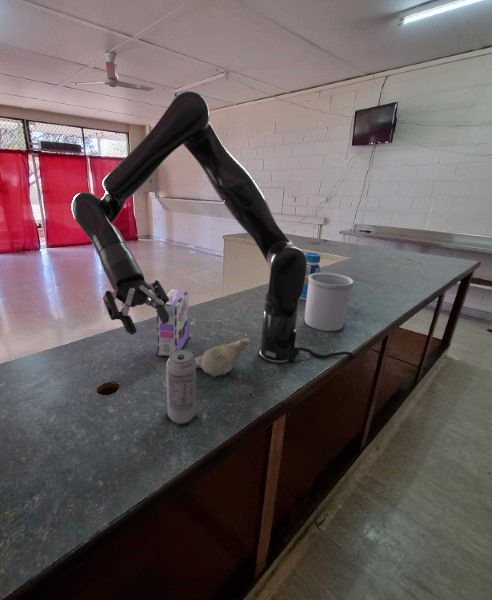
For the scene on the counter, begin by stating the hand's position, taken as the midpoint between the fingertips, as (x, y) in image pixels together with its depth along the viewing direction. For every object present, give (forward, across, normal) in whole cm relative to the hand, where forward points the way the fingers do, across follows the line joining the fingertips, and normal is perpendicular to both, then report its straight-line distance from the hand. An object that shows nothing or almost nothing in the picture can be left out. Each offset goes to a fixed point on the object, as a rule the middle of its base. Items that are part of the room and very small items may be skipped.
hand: (150, 327), depth 70 cm
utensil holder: (+18, +70, +7) cm, 73 cm away
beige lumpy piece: (+15, +21, +10) cm, 27 cm away
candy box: (+2, +18, +23) cm, 29 cm away
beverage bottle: (+5, +91, +20) cm, 93 cm away
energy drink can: (+20, 0, +5) cm, 21 cm away
